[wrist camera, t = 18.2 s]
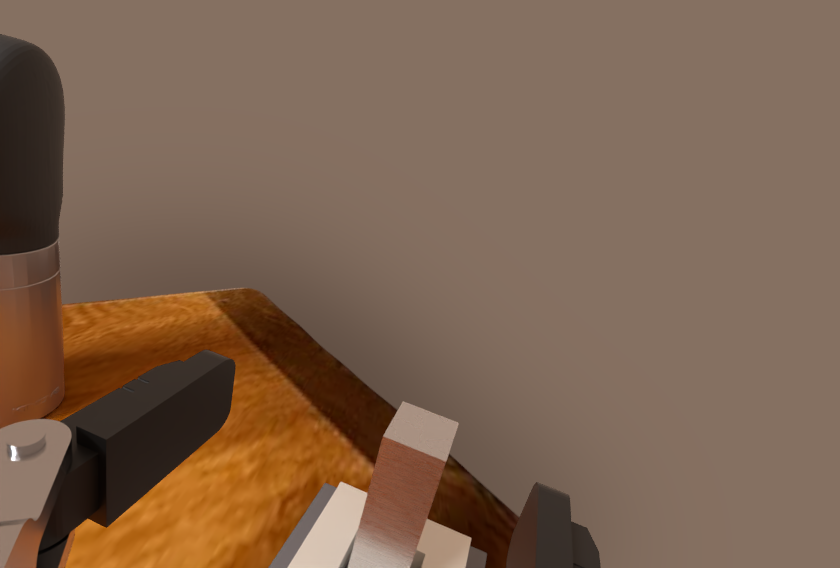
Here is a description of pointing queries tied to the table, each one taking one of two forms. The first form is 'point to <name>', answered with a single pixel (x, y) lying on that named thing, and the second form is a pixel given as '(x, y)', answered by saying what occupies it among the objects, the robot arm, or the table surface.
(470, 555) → the socket block
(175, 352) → the table surface
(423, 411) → the steel peg
